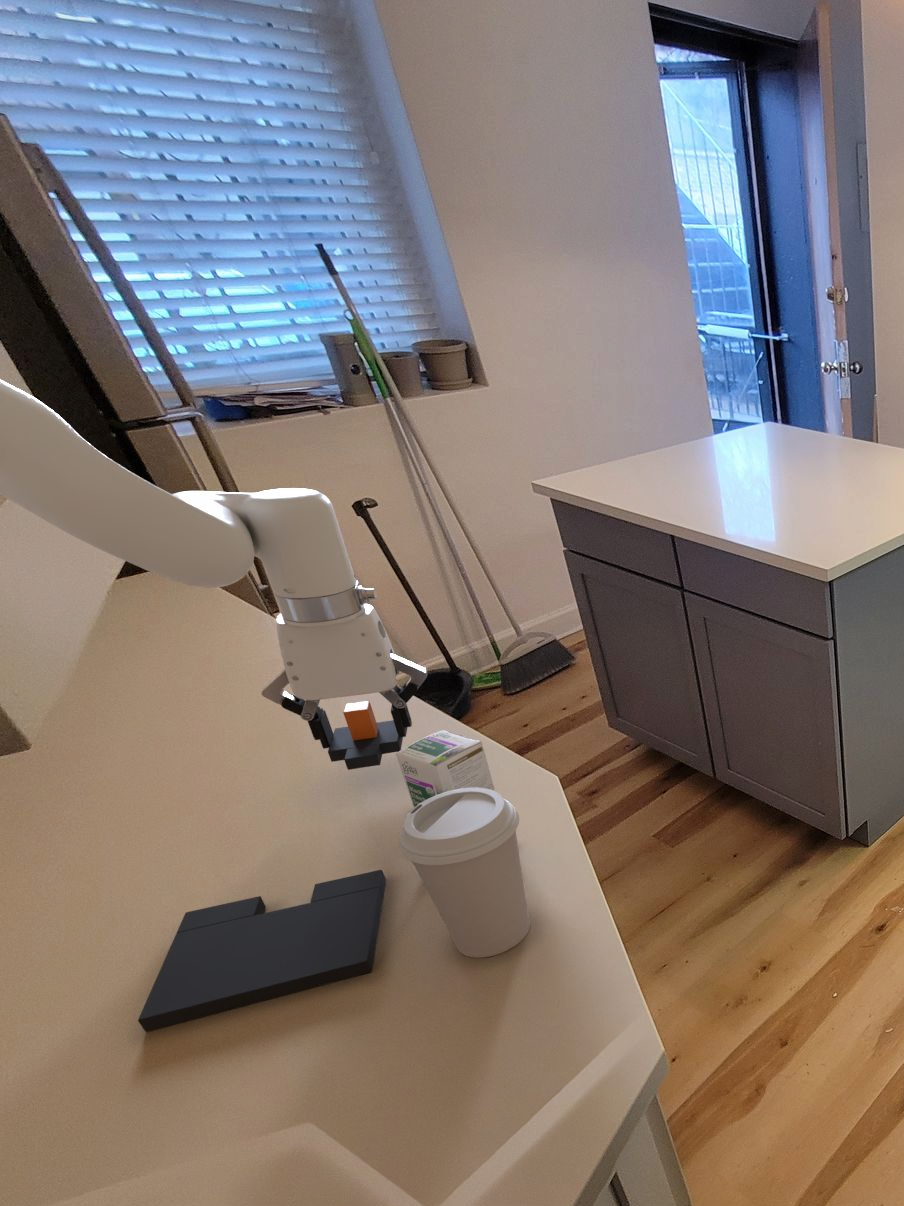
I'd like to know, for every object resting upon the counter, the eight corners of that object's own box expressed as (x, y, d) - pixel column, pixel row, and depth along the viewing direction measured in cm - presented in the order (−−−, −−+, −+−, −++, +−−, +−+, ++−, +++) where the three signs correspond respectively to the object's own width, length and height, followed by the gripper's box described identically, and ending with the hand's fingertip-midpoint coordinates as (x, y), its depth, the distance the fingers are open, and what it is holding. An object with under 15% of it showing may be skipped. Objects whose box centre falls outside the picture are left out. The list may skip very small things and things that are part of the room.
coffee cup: (503, 888, 84) (468, 772, 76) (568, 920, 80) (537, 801, 73) (415, 947, 76) (367, 823, 69) (482, 984, 73) (439, 859, 65)
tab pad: (328, 773, 92) (312, 733, 90) (338, 738, 99) (324, 699, 96) (399, 762, 95) (386, 722, 93) (404, 728, 102) (393, 691, 99)
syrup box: (429, 864, 86) (390, 752, 79) (475, 833, 91) (442, 726, 84) (469, 878, 85) (432, 766, 78) (513, 846, 90) (483, 738, 83)
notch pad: (145, 1032, 66) (137, 1020, 66) (191, 923, 77) (185, 912, 76) (372, 972, 73) (367, 960, 73) (386, 879, 84) (382, 869, 83)
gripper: (414, 584, 95) (449, 712, 104) (230, 598, 88) (284, 735, 97) (409, 606, 90) (447, 739, 98) (212, 623, 82) (272, 766, 91)
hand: (366, 736), depth 97 cm, fingers closed on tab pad, 7 cm apart
